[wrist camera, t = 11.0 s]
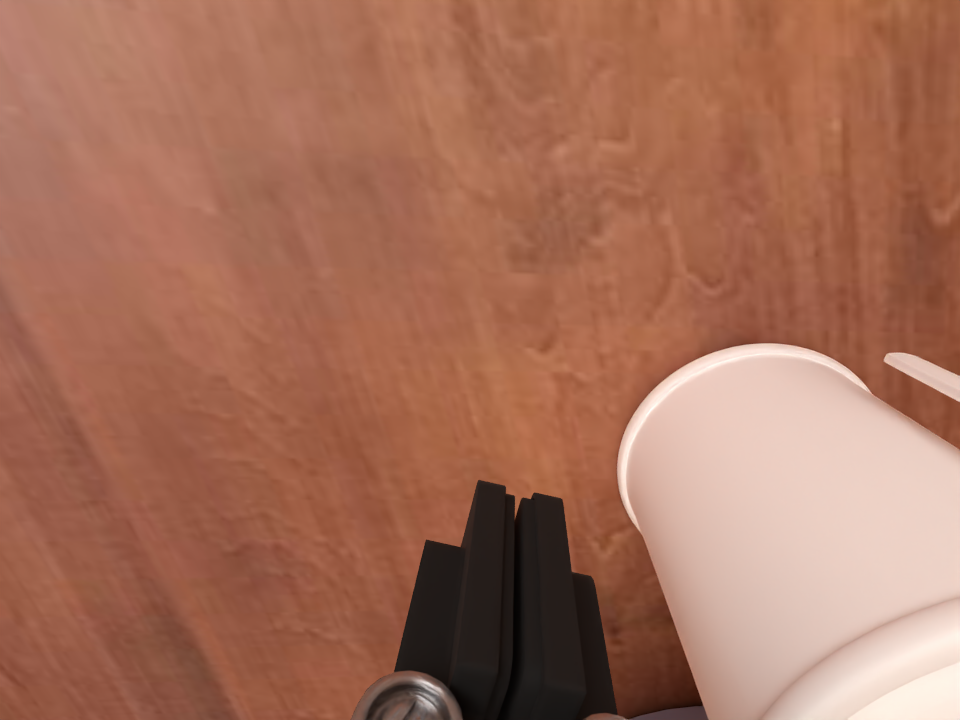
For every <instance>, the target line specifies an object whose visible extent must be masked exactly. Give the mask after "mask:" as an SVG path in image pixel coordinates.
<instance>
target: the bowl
mask: <svg viewBox="0 0 960 720" xmlns="http://www.w3.org/2000/svg"><path fill="white" fill-rule="evenodd" d="M628 720H708V717H707V714H706V711H705V708H704V706H693V707H684V708H676V709H667V710H663V711H658V712H654V713H650V714H645V715H641V716H638V717H634V718H631V719H628Z"/></svg>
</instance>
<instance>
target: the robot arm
mask: <svg viewBox="0 0 960 720" xmlns="http://www.w3.org/2000/svg"><path fill="white" fill-rule="evenodd" d="M351 720H628V719H626V718H624V717H622V716H618V714H617V708H616V703H615V697H614V691H613V685H612V680H611V674H610V668H609V663H608V657H607V651H606V645H605V640H604V634H603V628H602V622H601V617H600V611H599V605H598V599H597V594H596V588H595V584H594V580H593V579H592V577H591V576H588V575H583V574H579V573H574V572H572V570H571V562H570V554H569V546H568V538H567V530H566V522H565V514H564V506H563V500H562V499H561V498H557V497H552V496H548V495H543V494H539V493H533V495H532V498H531V499H527V498H522V499H521V502H520V505H519V508H518V511H517V515H516V518H515V496H514V495H509V494H506V487H505V486H503V485H499V484H494V483H490V482H485V481H481V480H478V483H477V486H476V490H475V494H474V498H473V502H472V506H471V509H470V513H469V517H468V521H467V525H466V529H465V533H464V537H463V541H462V545H461V547H457V546H452V545H448V544H443V543H439V542H434V541H430V540H426V542H425V546H424V550H423V554H422V558H421V562H420V566H419V571H418V575H417V579H416V583H415V587H414V591H413V595H412V600H411V604H410V608H409V612H408V616H407V620H406V625H405V629H404V633H403V637H402V641H401V645H400V649H399V654H398V658H397V662H396V666H395V670H394V673H392V674H389V675H387V676H384V677H382V678H380V679H379V680H377V681H376V682H375V683H374V684H373V685H371V686H370V687H369V688H368V689H367V690H366V692H365V693H364V695H363V696H362V698H361V699H360V701H359V703H358V705H357V707H356V709H355V711H354V713H353V715H352V718H351Z"/></svg>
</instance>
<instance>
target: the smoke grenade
mask: <svg viewBox="0 0 960 720" xmlns="http://www.w3.org/2000/svg"><path fill="white" fill-rule="evenodd" d="M883 361H884V362H885V363H887V364H889V365H891V366H893V367H894V368H896V369H898V370H900V371H902V372H904V373H906V374H908V375H909V376H911V377H913V378H915V379H917V380H919V381H921V382H923V383H925V384H926V385H928V386H930V387H932V388H934V389H936V390H938V391H940V392H942V393H944V394H945V395H947V396H949V397H951V398H953V399H955V400H957V401H959V402H960V376H958V375H956V374H954V373H952V372H949V371H947V370H945V369H943V368H941V367H939V366H937V365H934V364H932V363H930V362H928V361H926V360H924V359H921V358H919V357H917V356H914V355H910V354H906V353H888V354H886V356H885V358H884V360H883ZM617 480H618V487H619V492H620V496H621V499H622V502H623V505H624V507H625V509H626V512H627V514H628V515H629V517H630V519H631V521H632V522H633V524H634V525H635V526H636V528H637V529H638V530H639V531H640V533H641V534H642V535H643V538H644V541H645V544H646V546H647V549H648V552H649V555H650V557H651V560H652V563H653V566H654V568H655V571H656V574H657V577H658V580H659V582H660V585H661V588H662V591H663V593H664V596H665V599H666V602H667V605H668V607H669V610H670V613H671V616H672V619H673V621H674V624H675V627H676V630H677V633H678V635H679V638H680V641H681V644H682V647H683V649H684V652H685V655H686V658H687V661H688V663H689V666H690V669H691V672H692V675H693V677H694V680H695V683H696V686H697V689H698V692H699V694H700V697H701V700H702V703H703V706H704V708H705V711H706V714H707V717H708V720H960V449H958V448H956V447H955V446H953V445H952V444H950V443H948V442H947V441H945V440H944V439H942V438H941V437H939V436H937V435H936V434H934V433H933V432H931V431H929V430H928V429H926V428H925V427H923V426H922V425H920V424H918V423H917V422H915V421H914V420H912V419H910V418H909V417H907V416H906V415H904V414H903V413H901V412H899V411H898V410H896V409H895V408H893V407H892V406H890V405H888V404H887V403H885V402H884V401H882V400H881V399H879V398H877V397H876V396H874V395H873V394H872V393H871V392H870V390H869V389H868V388H867V386H866V385H865V384H864V383H863V382H862V381H861V380H860V379H859V378H858V377H857V376H856V375H855V374H854V373H853V372H852V371H850V370H849V369H848V368H846V367H845V366H844V365H842V364H840V363H839V362H837V361H835V360H834V359H832V358H830V357H828V356H826V355H823V354H821V353H818V352H816V351H813V350H810V349H806V348H802V347H798V346H793V345H786V344H774V343H760V344H748V345H741V346H735V347H731V348H727V349H723V350H720V351H716V352H713V353H711V354H708V355H705V356H703V357H701V358H698V359H696V360H694V361H692V362H690V363H688V364H687V365H685V366H683V367H682V368H680V369H678V370H677V371H675V372H674V373H672V374H671V375H670V376H668V377H667V378H666V379H665V380H663V381H662V382H661V383H660V384H659V385H658V386H656V387H655V388H654V389H653V390H652V391H651V392H650V393H649V395H648V396H647V397H646V398H645V399H644V400H643V402H642V403H641V404H640V406H639V407H638V408H637V410H636V411H635V413H634V414H633V416H632V418H631V420H630V422H629V423H628V425H627V428H626V430H625V432H624V435H623V438H622V441H621V444H620V448H619V453H618V461H617Z"/></svg>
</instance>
